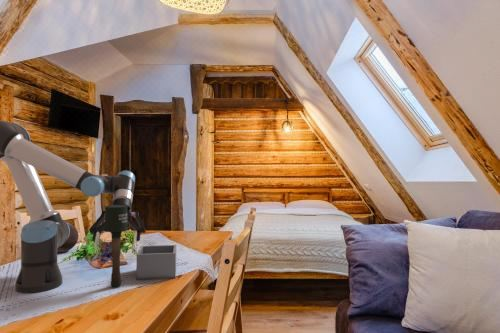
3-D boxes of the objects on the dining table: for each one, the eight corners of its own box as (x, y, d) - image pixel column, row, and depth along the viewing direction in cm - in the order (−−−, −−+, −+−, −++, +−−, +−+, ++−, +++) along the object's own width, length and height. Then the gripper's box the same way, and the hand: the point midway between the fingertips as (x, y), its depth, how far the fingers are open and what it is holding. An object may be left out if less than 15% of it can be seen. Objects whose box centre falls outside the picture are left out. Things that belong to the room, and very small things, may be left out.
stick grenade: (120, 291, 129) (120, 207, 128) (98, 289, 130) (99, 206, 130) (132, 283, 137) (132, 205, 137) (112, 281, 139) (112, 204, 139)
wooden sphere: (83, 248, 192) (83, 220, 192) (68, 255, 177) (69, 225, 177) (56, 248, 193) (56, 220, 193) (39, 255, 178) (39, 225, 178)
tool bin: (136, 280, 141) (136, 254, 141) (141, 269, 156) (141, 246, 156) (175, 278, 144) (175, 253, 144) (176, 267, 159) (176, 244, 159)
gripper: (154, 208, 151) (150, 252, 136) (91, 209, 146) (80, 255, 132) (153, 196, 146) (149, 241, 131) (88, 197, 141) (76, 243, 127)
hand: (115, 248), depth 131 cm, fingers open, 13 cm apart
